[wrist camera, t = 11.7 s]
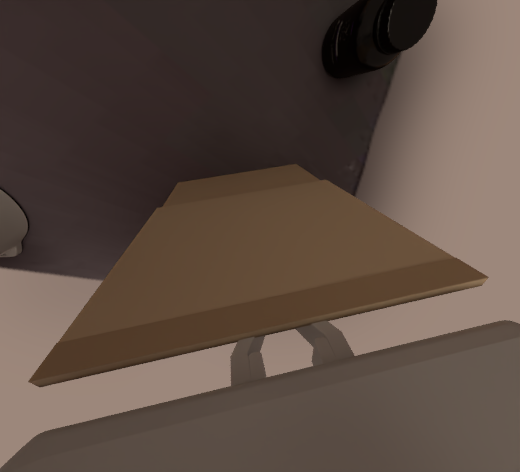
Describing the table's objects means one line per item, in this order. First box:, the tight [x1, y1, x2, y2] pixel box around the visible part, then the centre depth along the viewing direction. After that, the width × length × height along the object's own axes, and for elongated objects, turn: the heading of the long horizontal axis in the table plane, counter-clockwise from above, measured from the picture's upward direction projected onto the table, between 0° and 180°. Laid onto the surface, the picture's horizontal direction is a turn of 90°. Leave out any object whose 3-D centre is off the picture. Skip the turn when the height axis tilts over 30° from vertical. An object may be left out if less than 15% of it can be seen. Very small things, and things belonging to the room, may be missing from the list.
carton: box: [163, 164, 320, 207], centre depth 34 cm, size 22×18×12 cm
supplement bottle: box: [323, 0, 437, 78], centre depth 22 cm, size 7×7×12 cm
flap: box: [29, 180, 488, 387], centre depth 16 cm, size 22×18×1 cm
